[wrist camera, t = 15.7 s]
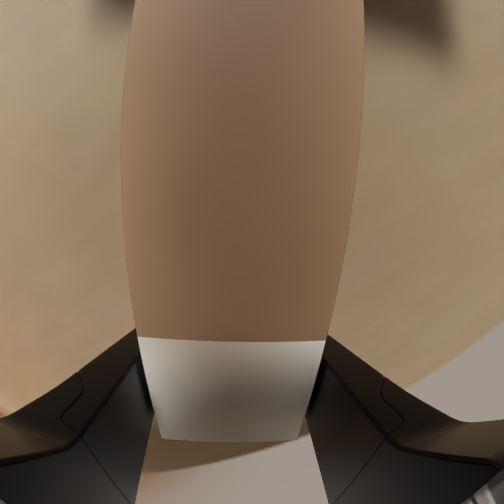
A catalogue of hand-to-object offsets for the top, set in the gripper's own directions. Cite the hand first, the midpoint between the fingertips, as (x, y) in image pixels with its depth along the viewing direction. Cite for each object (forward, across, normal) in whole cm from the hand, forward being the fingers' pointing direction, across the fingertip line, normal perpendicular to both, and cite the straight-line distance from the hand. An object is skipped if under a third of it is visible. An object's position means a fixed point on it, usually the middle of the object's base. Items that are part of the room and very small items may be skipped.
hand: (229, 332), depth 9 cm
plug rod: (+2, 0, -6) cm, 6 cm away
